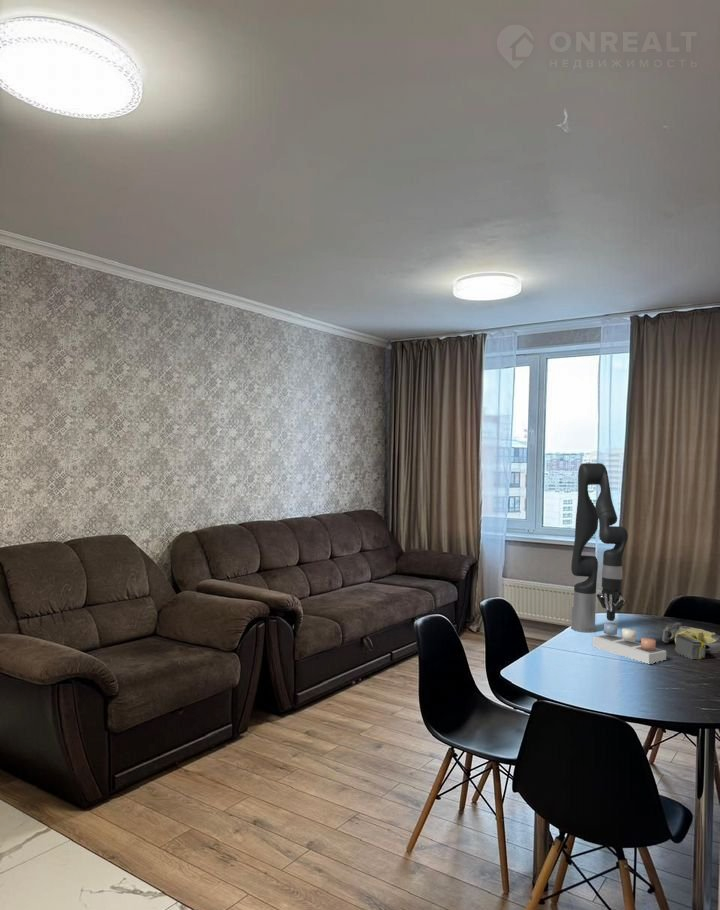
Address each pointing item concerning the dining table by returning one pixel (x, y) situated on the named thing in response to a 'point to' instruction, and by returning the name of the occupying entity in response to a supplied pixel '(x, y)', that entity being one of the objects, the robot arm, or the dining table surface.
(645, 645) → the terracotta button
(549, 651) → the dining table surface
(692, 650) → the circular saw
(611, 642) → the console
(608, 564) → the robot arm
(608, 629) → the slate button
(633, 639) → the cream button
